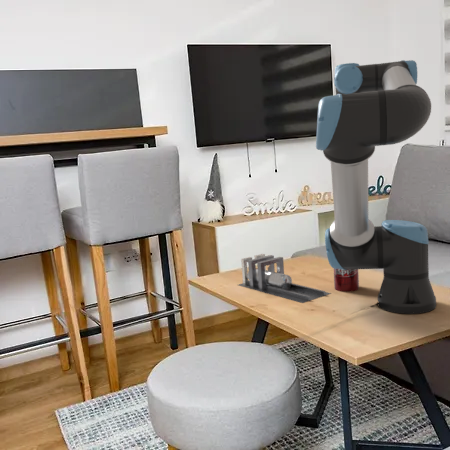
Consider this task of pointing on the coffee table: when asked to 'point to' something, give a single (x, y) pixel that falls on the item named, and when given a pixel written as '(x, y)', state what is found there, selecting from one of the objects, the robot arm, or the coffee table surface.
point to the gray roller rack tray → (293, 293)
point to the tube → (276, 279)
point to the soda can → (346, 280)
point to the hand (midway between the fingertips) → (352, 193)
